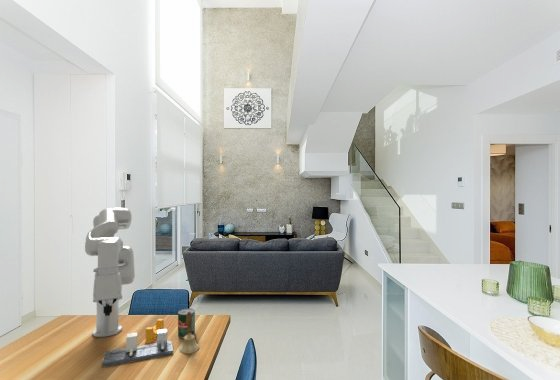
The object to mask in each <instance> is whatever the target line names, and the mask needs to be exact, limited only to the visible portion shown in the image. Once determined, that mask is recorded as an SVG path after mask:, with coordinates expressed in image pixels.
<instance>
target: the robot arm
mask: <svg viewBox="0 0 560 380" xmlns="http://www.w3.org/2000/svg"><path fill="white" fill-rule="evenodd" d="M132 218H133V217H132V213H131V210H130V209H128V208H127V207H126V208H125V207H113V208H112V207H110V208H109V207H108V208H104V209H102V210H101V211H100V212H99V214H97V215H96V216H94V218H93V222H92V223H93V224H92V225H93V228H91V229H90V230H89V231H88V232H87V234H86V237H85V243H84V245H85V246H84V250H85V253H86V255H87V256H90V257H96V256H97V267H96V268H93V273H94V279H93V281H94V282H93V291H92V292H93V294H92V296H93V297H92V302H93V303H96V322H95V323H96V328H95V329H94V330H93V331H92V336H94V338H95V337H96V338H105V337H106V338H107V337H111V336H114V335H117V334H119V333H121V331H122V330H123V327H122V325H120V324H119V313H120V312H119V303H120V302H119V301H121V300H122V299H123V293H122V292H123V289H122V288H123V287H122V286H124V285H125V286H126V285H129V284H132V283H134V280H135V275H136V274H135V257H134V251H133V247H131V246H128V245H124V241H123V239H122V238H120V237H119V236H115V235H116V234H117V233H118V232H119V231H120V230H127V229H129V228H130V226H131V223H132Z"/></svg>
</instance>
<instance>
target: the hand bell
mask: <svg viewBox="0 0 560 380" xmlns="http://www.w3.org/2000/svg"><path fill="white" fill-rule="evenodd" d="M186 324H187V335H186V336H185V337H184V338H183V343H182V344H181V346H180V348H179V350H178V351H179V352H180V353H181V354H184V355H187V354H189V355H190V354H194V353H196V352H198V351H199V349H200V345H199V344H197V341H196V338H195V337H196V336H195V335H192V334H191V324H192V315H191V312H187V316H186Z"/></svg>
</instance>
